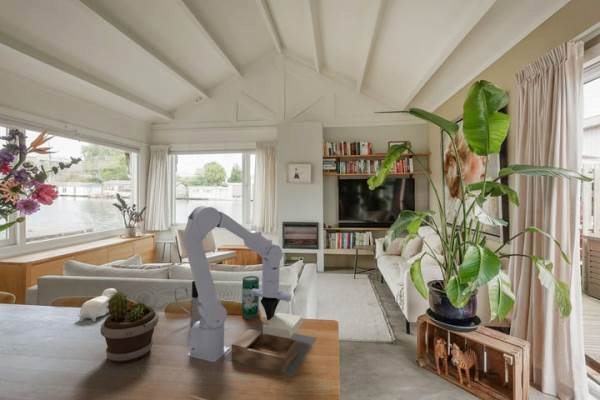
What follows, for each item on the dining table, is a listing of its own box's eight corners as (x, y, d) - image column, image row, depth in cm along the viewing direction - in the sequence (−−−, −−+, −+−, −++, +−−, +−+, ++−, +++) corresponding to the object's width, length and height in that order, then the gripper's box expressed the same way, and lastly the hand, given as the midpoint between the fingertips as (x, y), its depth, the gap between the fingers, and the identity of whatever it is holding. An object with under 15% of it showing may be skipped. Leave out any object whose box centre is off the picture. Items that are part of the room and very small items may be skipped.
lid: (289, 338, 83) (289, 330, 83) (262, 333, 86) (263, 325, 86) (302, 323, 93) (302, 315, 93) (277, 319, 96) (277, 311, 96)
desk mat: (221, 360, 79) (221, 359, 79) (258, 327, 100) (258, 326, 100) (292, 378, 72) (292, 376, 72) (316, 338, 93) (316, 337, 93)
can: (240, 318, 108) (240, 279, 108) (245, 312, 114) (246, 275, 114) (255, 319, 107) (255, 280, 107) (259, 313, 113) (260, 276, 113)
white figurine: (100, 328, 105) (126, 300, 119) (94, 310, 102) (121, 284, 115) (79, 327, 105) (107, 299, 119) (72, 309, 102) (102, 283, 116)
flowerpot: (160, 338, 92) (161, 277, 92) (154, 363, 78) (155, 292, 78) (108, 345, 87) (109, 281, 87) (92, 374, 72) (93, 298, 72)
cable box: (231, 360, 79) (231, 344, 79) (249, 343, 88) (249, 329, 88) (284, 373, 73) (285, 356, 73) (297, 354, 83) (298, 338, 83)
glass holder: (213, 324, 102) (213, 284, 102) (171, 328, 99) (172, 286, 99) (214, 315, 110) (215, 277, 110) (176, 318, 107) (177, 279, 107)
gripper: (295, 278, 95) (294, 318, 95) (258, 273, 100) (258, 311, 100) (286, 284, 88) (285, 327, 88) (247, 279, 94) (247, 319, 94)
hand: (270, 319), depth 94 cm, fingers closed
